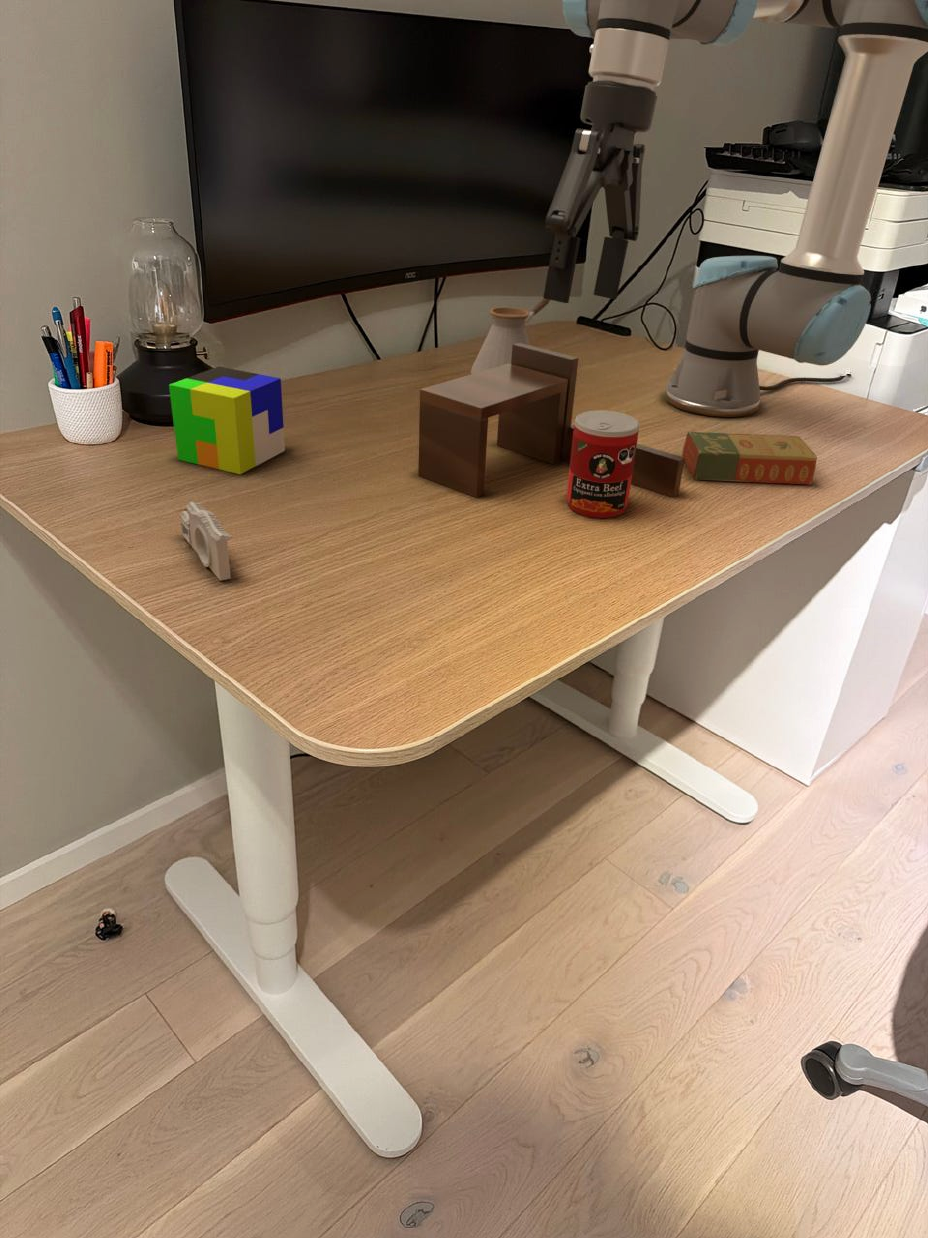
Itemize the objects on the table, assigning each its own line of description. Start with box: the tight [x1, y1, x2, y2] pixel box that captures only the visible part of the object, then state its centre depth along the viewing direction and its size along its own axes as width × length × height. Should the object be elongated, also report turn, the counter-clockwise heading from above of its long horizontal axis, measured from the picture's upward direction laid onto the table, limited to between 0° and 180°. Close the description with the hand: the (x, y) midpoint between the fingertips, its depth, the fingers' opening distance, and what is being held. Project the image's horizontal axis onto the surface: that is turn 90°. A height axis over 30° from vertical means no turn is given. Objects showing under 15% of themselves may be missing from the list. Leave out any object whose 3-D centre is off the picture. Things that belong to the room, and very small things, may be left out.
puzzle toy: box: [168, 366, 286, 475], centre depth 120 cm, size 10×10×10 cm
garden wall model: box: [178, 501, 232, 582], centre depth 95 cm, size 12×2×6 cm, turn 33°
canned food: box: [565, 410, 640, 519], centre depth 111 cm, size 8×8×11 cm
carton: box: [681, 431, 818, 485], centre depth 125 cm, size 8×16×4 cm, turn 88°
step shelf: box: [417, 343, 685, 498], centre depth 115 cm, size 20×28×14 cm
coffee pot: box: [470, 297, 551, 375], centre depth 153 cm, size 21×12×15 cm, turn 143°
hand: (581, 298), depth 103 cm, fingers open, 13 cm apart
